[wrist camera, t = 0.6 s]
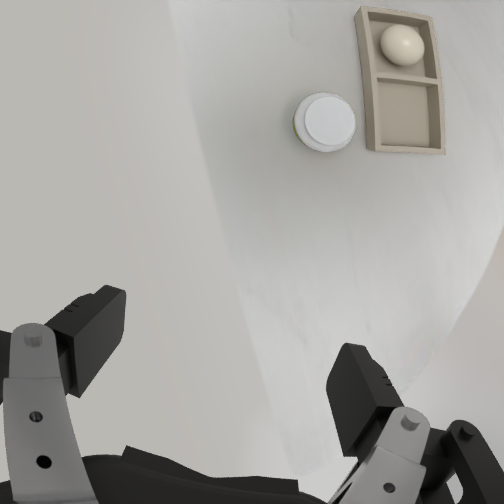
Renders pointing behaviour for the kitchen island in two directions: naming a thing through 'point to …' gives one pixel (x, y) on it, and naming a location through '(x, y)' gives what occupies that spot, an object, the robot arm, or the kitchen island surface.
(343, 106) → the supplement bottle
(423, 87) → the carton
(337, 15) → the kitchen island surface
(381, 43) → the egg
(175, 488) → the robot arm
